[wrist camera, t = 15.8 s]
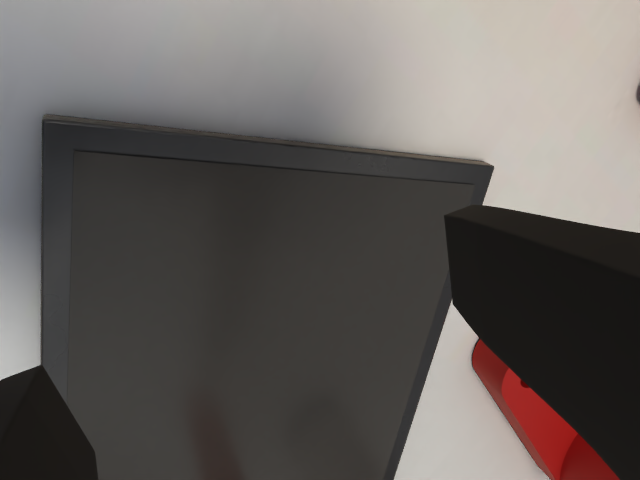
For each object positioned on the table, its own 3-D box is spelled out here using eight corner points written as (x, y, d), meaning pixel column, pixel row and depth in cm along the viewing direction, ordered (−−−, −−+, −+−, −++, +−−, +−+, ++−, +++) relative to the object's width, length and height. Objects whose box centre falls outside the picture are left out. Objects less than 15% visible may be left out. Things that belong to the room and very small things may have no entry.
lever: (669, 383, 36) (777, 457, 30) (574, 486, 37) (663, 577, 31) (546, 259, 26) (675, 336, 20) (421, 405, 27) (512, 517, 21)
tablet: (40, 624, 23) (39, 643, 22) (43, 113, 15) (41, 119, 14) (364, 543, 30) (371, 556, 29) (484, 161, 22) (497, 167, 21)
